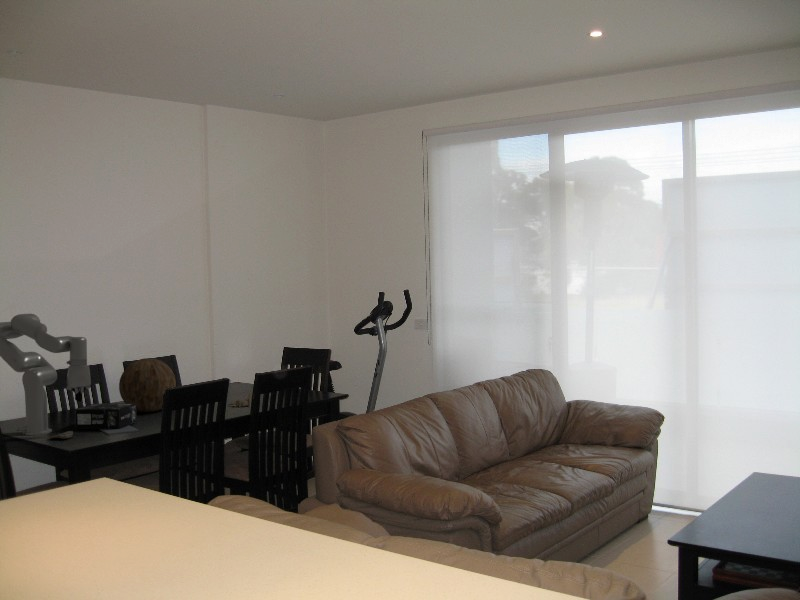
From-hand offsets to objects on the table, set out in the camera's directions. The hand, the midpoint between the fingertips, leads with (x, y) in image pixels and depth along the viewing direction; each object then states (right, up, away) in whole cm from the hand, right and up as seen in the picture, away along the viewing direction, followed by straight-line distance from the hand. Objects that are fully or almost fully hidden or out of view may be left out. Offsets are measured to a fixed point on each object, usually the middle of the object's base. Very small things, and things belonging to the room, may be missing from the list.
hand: (78, 401), depth 375 cm
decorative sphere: (+14, -14, +60) cm, 63 cm away
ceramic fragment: (+2, -16, -10) cm, 19 cm away
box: (+6, -10, +7) cm, 14 cm away
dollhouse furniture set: (+65, -13, +72) cm, 98 cm away
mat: (+15, -15, +10) cm, 23 cm away
